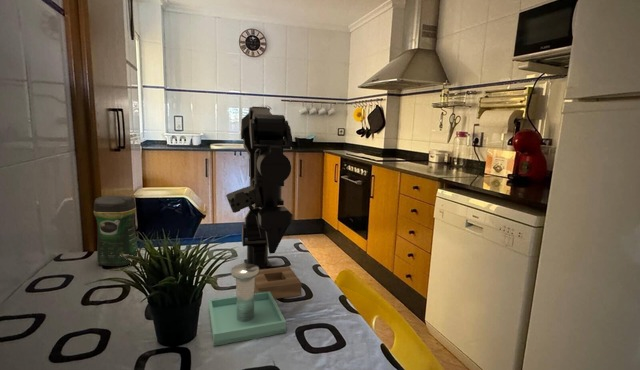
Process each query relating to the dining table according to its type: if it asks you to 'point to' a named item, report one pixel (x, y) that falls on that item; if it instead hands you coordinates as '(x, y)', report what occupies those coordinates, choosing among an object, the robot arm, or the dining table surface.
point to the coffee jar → (115, 229)
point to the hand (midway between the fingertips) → (267, 245)
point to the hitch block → (278, 282)
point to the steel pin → (245, 290)
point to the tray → (234, 330)
